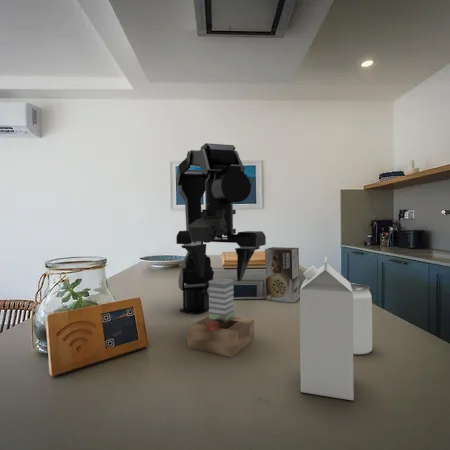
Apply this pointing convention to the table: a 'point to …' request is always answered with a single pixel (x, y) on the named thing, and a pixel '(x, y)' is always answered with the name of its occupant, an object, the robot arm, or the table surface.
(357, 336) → the can
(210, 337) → the tan stand block
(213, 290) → the ratchet post
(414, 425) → the table surface
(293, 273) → the coffee box
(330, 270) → the milk carton
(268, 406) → the table surface
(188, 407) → the table surface
